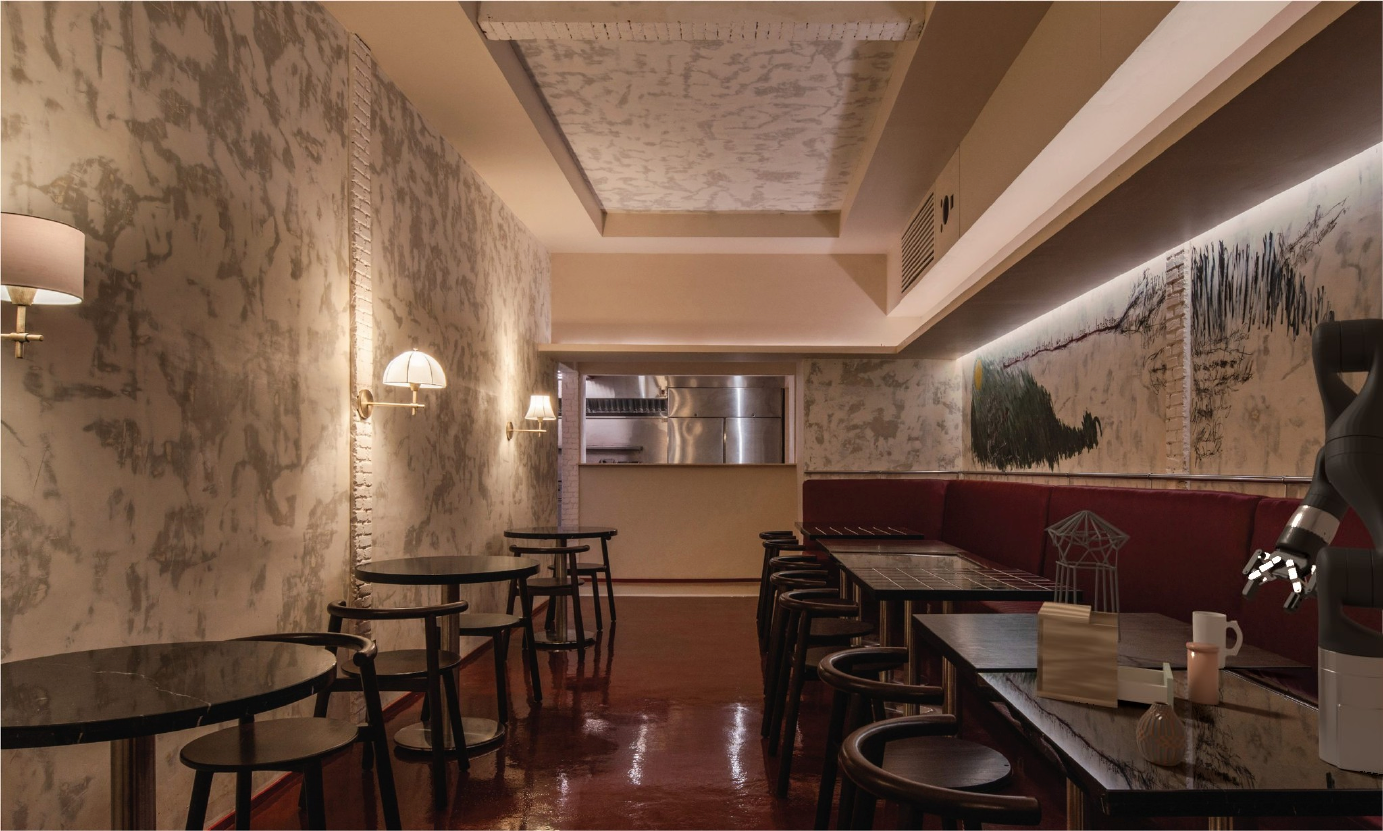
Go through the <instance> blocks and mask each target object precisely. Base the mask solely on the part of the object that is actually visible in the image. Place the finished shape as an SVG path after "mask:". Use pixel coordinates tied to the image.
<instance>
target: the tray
mask: <svg viewBox="0 0 1383 831" xmlns="http://www.w3.org/2000/svg"><path fill="white" fill-rule="evenodd" d="M1117 700H1122V701H1129V702H1136V703H1143V704H1149V705H1152V703H1153V702H1155V701H1160V702H1166V703H1169V704H1170V705H1171V706H1172V709H1173V710H1174V676H1173V673H1172V669H1171V666H1170V663H1169V662H1162V670H1157V669H1151V668H1150V669H1148V668H1140V667H1134V666H1124V665H1118V680H1117Z"/></svg>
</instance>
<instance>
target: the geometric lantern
mask: <svg viewBox="0 0 1383 831" xmlns="http://www.w3.org/2000/svg"><path fill="white" fill-rule="evenodd" d="M1084 519H1085V520H1084ZM1089 520H1090V522H1091V524H1092V526H1093V528H1094V530H1091V531H1089ZM1083 521H1084V530H1078V529H1079V527H1080V525H1081V524H1082V522H1083ZM1095 522H1096V523H1095ZM1096 524H1097V525H1096ZM1098 525H1099V527H1100V528H1101V529H1102V530H1100V529H1099V528H1098ZM1061 526H1062V527H1061ZM1057 528H1059V529H1057ZM1043 530H1044V531H1045V532H1046V531H1047V532H1048V533H1049V535H1050V537H1051V539H1052V546H1054V547H1058V556H1059V561H1057V560H1056V561H1055V563H1056V573H1055V574H1056V575H1055V589H1054V598H1053V599H1054V600H1053V602H1054V603H1062V597H1063V589H1064V588H1063V587H1064V577H1065V576H1064V575H1065V574H1064V573H1065V567H1066V568H1067V570H1066V584H1065V586H1066V587H1065V599H1064V600H1065V602H1064V604H1069V603H1068V601H1069V591H1070V590H1069V586H1070V570H1071V569H1073V604H1074V605H1077V569H1087V570H1089V569H1090V570H1095V590H1094V591H1095V595H1094V596H1095V597H1094V598H1095V599H1094V611H1096V612H1098V596H1099V594H1098V593H1099V592H1098V591H1099V570H1102V589H1103V612H1106V613H1108V612H1107V609H1108V608H1107V588H1106V587H1107V585H1106V584H1107V583H1106V570H1107V571H1109V582H1110V585H1109V586H1110V598H1111V600H1110V601H1111V613H1117V614H1118V644H1121V642H1122V635H1121V632H1122V631H1121V618H1120V617H1121V616H1120V599H1119V598H1120V597H1119V596H1120V595H1119V594H1120V593H1119V581H1118V580H1119V577H1118V576H1119V575H1118V556H1119V555H1118V554H1119V550H1120V549H1121V548H1122V547H1123V546H1124V545H1125V544H1126V542H1128V540H1130V538H1131V536H1130V535H1128V534H1127V533H1125V532H1123V531H1122V530H1120V529H1119V528H1118V527H1116V526H1115V525H1112V524H1111V523H1110V522H1108V521H1107V520H1105V519H1103V518H1102V517H1100V516H1099V515H1097V514H1096V513H1094V512H1092V511H1091V510H1084V509H1083V510H1080V511H1079V512H1076V513H1074V514H1072V515H1070V516H1069V517H1066V518H1065V519H1064V518H1063V520H1060V521H1058V522H1057V523H1055V524H1053V525H1050V526H1049V527H1047V528H1045V529H1043ZM1071 530H1072V531H1071ZM1115 532H1116V533H1117V534H1118V535H1117V534H1116V533H1115ZM1090 534H1095V535H1093V537H1089V535H1090ZM1101 534H1106V535H1107V536H1106V537H1105V536H1104V537H1102V535H1101ZM1067 536H1068V537H1071V538H1068V537H1067ZM1058 537H1060V541H1058ZM1078 537H1080V538H1082V540H1081V539H1080V538H1078ZM1097 537H1098V538H1097ZM1074 539H1075V540H1077V542H1075V541H1073V540H1074ZM1064 540H1066V541H1067V542H1069V544H1068V546H1067V548H1066V550H1065V552H1063V549H1062V547H1061V546H1062V544H1063V542H1064ZM1085 540H1086V541H1085ZM1104 540H1109V542H1110V543H1107V544H1106V545H1104V546H1102V541H1104ZM1092 541H1097V542H1099V544H1098V545H1099V547H1090V543H1091V542H1092ZM1121 541H1122V542H1121ZM1058 542H1059V543H1058ZM1120 542H1121V543H1120ZM1116 543H1117V546H1116ZM1072 545H1076V546H1077V545H1078V546H1083V547H1085V548H1086V549H1087V550H1086V552H1085V553H1084V554H1083V556H1081V558H1080V559H1079V561H1067V558H1066V556H1067V554H1068V553H1069V550H1070V549H1071V547H1072ZM1107 548H1109V550H1108V551H1107V553H1106V554H1105V551H1104V549H1107ZM1113 549H1114V550H1115V551H1116V552H1115V553H1116V556H1115V566H1111V564H1110V562H1109V560H1108V559H1109V556H1110V554H1111V552H1112V550H1113ZM1093 551H1101V554H1102V556H1103V560H1102V563H1101V562H1100V561H1099V560H1098V558H1097V556H1096V555H1095V554H1094V552H1093ZM1089 552H1090V553H1091V555H1092V556H1093V558H1094V559H1095V560H1096V562H1093V561H1092V562H1091V561H1083V559H1084V557H1086V555H1087V554H1088V553H1089ZM1061 557H1062V558H1061ZM1105 563H1106V564H1105ZM1069 564H1075V565H1069ZM1079 564H1082V565H1083V564H1089V565H1095V566H1096V567H1095V566H1091V567H1090V566H1080V565H1079ZM1060 565H1061V574H1060V572H1059V571H1060ZM1078 565H1079V566H1078ZM1099 566H1101V567H1099ZM1070 568H1071V569H1070ZM1113 571H1114V578H1113ZM1059 574H1060V585H1059ZM1113 580H1115V594H1114V581H1113ZM1058 586H1059V588H1058ZM1058 590H1059V597H1058ZM1114 595H1116V596H1114ZM1058 598H1059V599H1058ZM1057 599H1058V602H1057ZM1115 600H1116V609H1115ZM1115 610H1116V611H1115Z"/></svg>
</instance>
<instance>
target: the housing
mask: <svg viewBox="0 0 1383 831" xmlns="http://www.w3.org/2000/svg"><path fill="white" fill-rule="evenodd" d="M1036 642H1037V645H1036V646H1037V650H1036V651H1037V653H1036V654H1037V655H1036V658H1037V659H1036V661H1037V662H1036V666H1037V667H1036V697H1039V698H1046V699H1053V700H1059V701H1060V700H1061V701H1066V702H1073V701H1074V703H1079V702H1080V703H1081V704H1086V703H1088V704H1087V705H1093V704H1094V705H1095V706H1100V707H1101V706H1102V707H1109V708H1116V709H1118V699H1117V680H1118V666H1119V665H1118V662H1119V661H1118V660H1119V658H1118V657H1119V656H1118V653H1119V652H1118V651H1119V650H1118V649H1119V648H1118V645H1119V643H1118V614H1117V612H1115V613H1112V612H1107V613H1106V612H1104V611H1097V612H1096V611H1095V610H1094V611H1093V610H1092V606H1091V605H1083V604H1082V605H1081V604H1076V605H1074V603H1068V604H1065V602H1061V603H1059V602H1056V603H1054V601H1053V602H1052V601H1044V602H1043V603H1042V606H1041V607H1040V608H1039V611H1038V612H1037V641H1036Z"/></svg>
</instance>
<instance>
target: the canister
mask: <svg viewBox="0 0 1383 831" xmlns="http://www.w3.org/2000/svg"><path fill="white" fill-rule="evenodd" d="M1185 647H1186V648H1187V700H1188V701H1190V702H1193V703H1196V704H1200V705H1201V704H1202V705H1209V706H1211V705H1212V706H1216V705H1219V668H1218V652H1220V647H1219V646H1216V645H1212V644H1207V643H1198V642H1193V641H1188V642H1186V646H1185Z"/></svg>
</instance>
